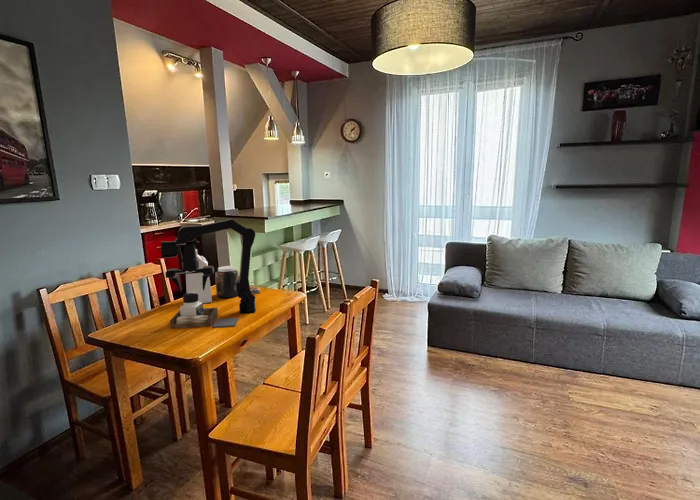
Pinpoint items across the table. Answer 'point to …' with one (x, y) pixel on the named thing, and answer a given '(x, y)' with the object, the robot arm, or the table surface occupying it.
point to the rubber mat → (225, 322)
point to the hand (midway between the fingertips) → (192, 290)
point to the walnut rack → (207, 311)
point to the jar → (226, 281)
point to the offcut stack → (192, 319)
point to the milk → (199, 282)
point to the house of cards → (255, 289)
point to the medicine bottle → (191, 305)
